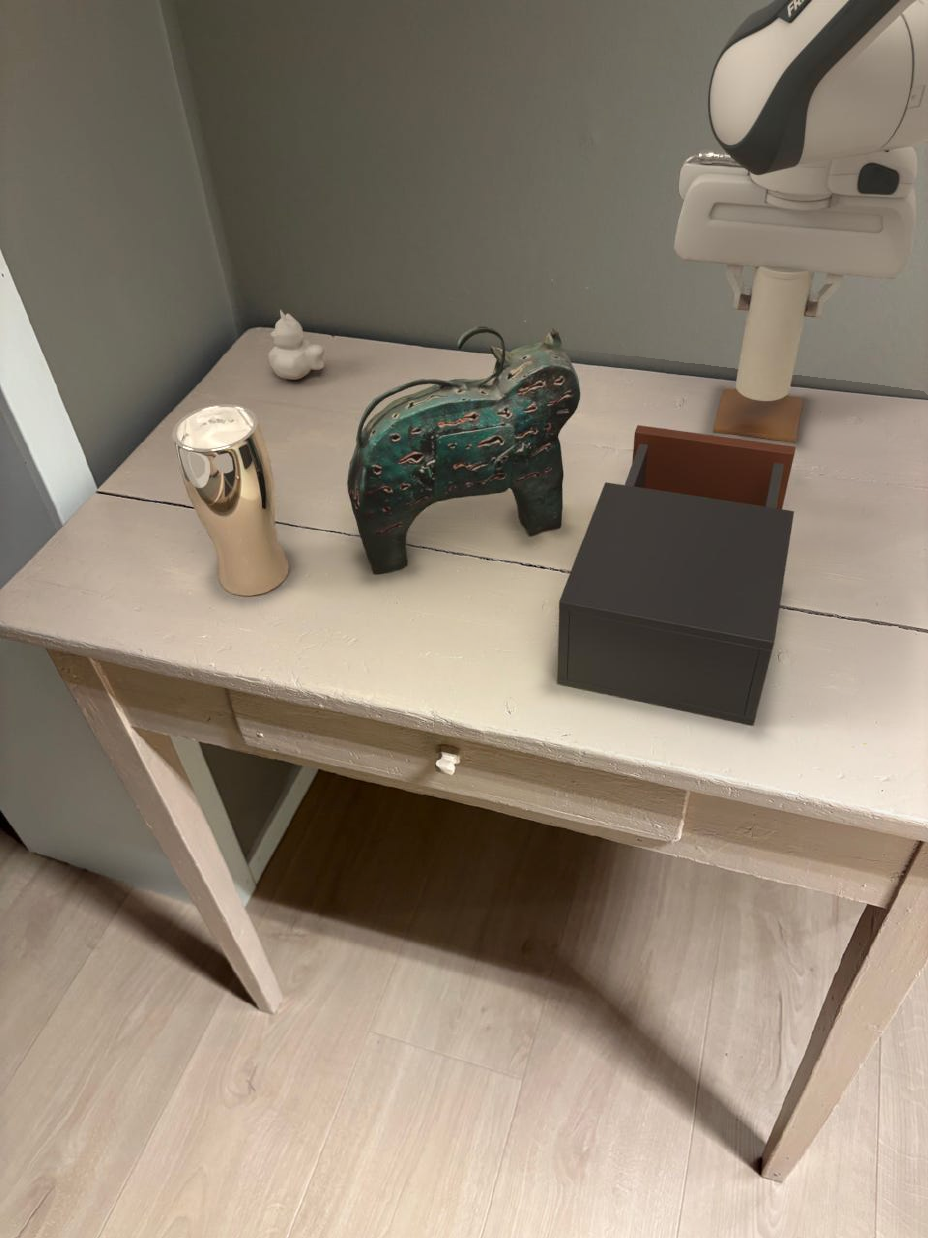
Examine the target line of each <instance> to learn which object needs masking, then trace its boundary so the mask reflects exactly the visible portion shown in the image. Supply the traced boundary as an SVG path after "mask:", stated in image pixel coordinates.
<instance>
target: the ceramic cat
mask: <svg viewBox="0 0 928 1238" xmlns="http://www.w3.org/2000/svg"><path fill="white" fill-rule="evenodd" d="M487 333H488V334H492V335H494V336H495V337H497V338H498V339H499V341H500V343H501V347H496V346H490V352H491V353H492V355H493V357H494V358H495V359H496V361H495V363H494V367H493V370H492V374H491V375H489V376H488V377H486V378H481V379H477V378H476V379H469V378H454V379H449V380H444V379H443V380H442V379H437V378H436V379H435V378H434V379H433V378H432V379H425V378H421V379H416V380H413V381H410V382H406V383H403V384H400V385H398V386H396V387H393V388H391V389H389V390H387V391H385V392H383V393H381V394H380V395H378V396H376V397H375V398H373V400H372V401H371V402H370V403H369V404H368V405H367V406H366V407H365V410H364V411H363V414H362V416H361V418H360V421H359V424H358V428H357V433H356V437H355V447H354V451H353V453H352V457H351V458H350V461H349V466H348V472H347V482H346V485H347V494H348V498H349V501H350V505H351V511H352V513H353V515H354V519H355V523H356V526H357V531H358V534H359V536H360V540H361V543H362V546H363V549H364V551H365V554H366V558H367V560H368V563H369V564H370V567H371V570H372V574H374V575H380V574H386V573H391V572H396V571H398V570H399V571H400V570H402V569H404V568H406V567H407V566H408V565H409V564H408V563H409V561H408V555H407V535H408V532H409V530H410V527H411V526H412V524H414V521H415V520H416V518H418V516H419V515H420V514H421V513H422V512H424V511H425V510H426V509H427V508H429V507H431V506H432V505H434V504H435V503H439V502H444V501H445V502H446V501H449V500H453V499H461V498H467V497H480V496H487V495H496V494H502V493H506V492H508V490H509V489H510V490H511V492H512V494H513V498H514V501H515V503H516V507H517V515H518V520H519V523H520V524H521V526H522V527H523V528H524V530H525V531H526V533H527V534H528V537H529V538H530V537H532V536H535V535H538V534H540V533H542V532H547V531H552V530H558V529H561V527H562V525H563V524H562V523H563V521H562V520H563V508H564V506H563V504H564V503H563V502H564V499H563V496H564V495H563V494H564V493H563V491H564V490H563V488H564V487H563V486H564V485H563V484H564V476H565V475H564V474H565V473H564V465H563V457H562V447H561V441H560V438H559V435H560V432H561V430H563V428H564V427H565V425H566V424H567V422H568V421H569V420H570V419H571V418H572V417H573V415H574V414H575V413H576V411H577V409H578V407H579V404H580V401H581V388H580V379H579V376H578V373H577V371H576V369H575V367H574V365H573V363H572V361H571V359H570V357H569V356H568V355H567V353H566V352H565V349H564V347H563V343H562V339H561V337H560V333H559V332H558V331H557V330H555V329H554V328H553V327H552V328H551V329H549V331H548V333H547V335H546V337H545V339H544V340H543V341H542V342H533V343H529V344H525V345H522V346H519V347H516V348H513V349H512V350H511V351H507V350H506V346H505V341H504V338H503V336H502V334H501V333H500V332H499V331H498V330H497V329H494V328H493V327H489V326H484V325H478V326H474V327H472V328H470V329H468V330H466V331H465V332H464V333H463V334H462V335H461V337H459V340H458V342H457V345H456V347H457V348H458V349H459V351H462V350H461V349H462V348H463V346H464V345H465V343H466V342H467V341H469V339H471V338H472V337H473V336H475V335H479V334H487ZM423 385H431V386H428V387H426V388H424V389H421V390H419V391H417V392H414V393H411V394H407V395H404V396H401V397H399V398H396V399H394V400H393V401H391V402H389V403H388V404H387V405H386V406H385V407H383V409H382V410H380V411H378V412H377V413H376V414H375V415H373V416H372V418H371V419H370V420H369V421H368V422H367V424H366V425H365V423H366V421H367V419H368V418H369V416H370V415H371V414H372V412H373V411H374V410H375V408H376V407H377V406H378V405H379V404H380V403H381V402H382V401H384V400H385V399H387V398H389V397H392V396H394V395H396V394H398V393H400V392H403V391H405V390H407V389H409V388H413V387H418V386H423ZM364 426H365V427H364Z"/></svg>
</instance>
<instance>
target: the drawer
mask: <svg viewBox="0 0 928 1238" xmlns="http://www.w3.org/2000/svg"><path fill="white" fill-rule="evenodd" d="M633 437H634V438H633V448H632V461H631V466H630V469H629V471H628V474H627V477H626V479H625V482H624V485H627V486H633V487H640V488H646V489H653V490H659V491H666V492H672V493H679V494H685V495H692V496H698V497H705V498H711V499H718V500H725V501H731V502H738V503H744V504H751V505H757V506H764V507H770V508H777V509H783V508H784V503H785V499H786V494H787V489H788V484H789V479H790V476H791V472H792V467H793V464H794V460H795V454H796V446H794V445H787V444H779V443H773V442H766V441H758V440H757V441H756V440H750V439H743V438H735V437H727V436H720V435H715V434H714V435H713V434H708V433H707V434H705V433H699V432H690V431H683V430H676V429H670V428H662V427H654V426H647V425H641V424H638V425H637V426H636V428H635V430H634V436H633Z"/></svg>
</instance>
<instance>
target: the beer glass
mask: <svg viewBox="0 0 928 1238" xmlns="http://www.w3.org/2000/svg"><path fill="white" fill-rule="evenodd" d="M258 419H259V418H258V416H257V415H256V413H255V412H253V411H252V410H251V409H249V408H248V407H245V406H242V405H238V404H231V403H224V404H223V403H222V404H213V405H208V406H204V407H200V408H198V409H195V410H193V411H191V412H189V413H187V414H185V415H184V416H182V417H181V418H180V419H179V420H178V421H177V422H176V423H175V425H174V427H173V429H172V432H171V434H172V435H171V436H172V439H173V442H174V447H175V452H176V457H177V462H178V466H179V470H180V474H181V477H182V482H183V485H184V487H185V490H186V493H187V496H188V498H189V500H190V502H191V505H192V507H193V509H194V511H195V513H196V514H197V517H198V518H199V520H200V522H201V524H202V525H203V527H204V530H205V531H206V532H207V534H208V536H209V539H210V540H211V542H212V545H213V547H214V551H215V553H216V560H217V571H218V580H219V583H220V585H221V586H222V587H223V589H224V590H226V592H228V593H231V594H233V595H237V596H243V597H251V596H258V595H262V594H265V593H268V592H271V591H272V590H275V589H276V588H278V587H279V586H280V585H281V584H282V583H283V582H284V581H285V580H286V578H287V576H288V574H289V569H290V567H289V566H290V563H289V562H288V558H287V556H286V553H285V552H284V550H283V548H282V546H281V544H280V541H279V538H278V535H277V528H276V499H275V483H274V475H273V469H272V464H271V460H270V459H271V458H270V455H269V452H268V449H267V445H266V442H265V439H264V436H263V433H262V429H261V427H260V424H259V420H258Z"/></svg>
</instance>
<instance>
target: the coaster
mask: <svg viewBox="0 0 928 1238" xmlns="http://www.w3.org/2000/svg"><path fill="white" fill-rule="evenodd" d="M803 401H804V397H800V396H792V395H786V396H785V397H783V398H781V399H778V400H774V401H758V400H753V399H750V398H747V397H745V396H743V395H742V394H740V393H739V392H738V391H737V389H734V388H728V387H724V388H723V392H722V395H721V400H720V403H719V407H718V411H717V414H716V418H715V422H714V425H713V429H712V432H713V433H720V434H728V435H736V436H742V437H749V438H750V437H751V438H756V439H757V438H758V439H764V440H771V441H779V442H787V443H794V444H795V443H797V438H798V431H799V425H800V419H801V414H802V408H803V406H802V405H803Z"/></svg>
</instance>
